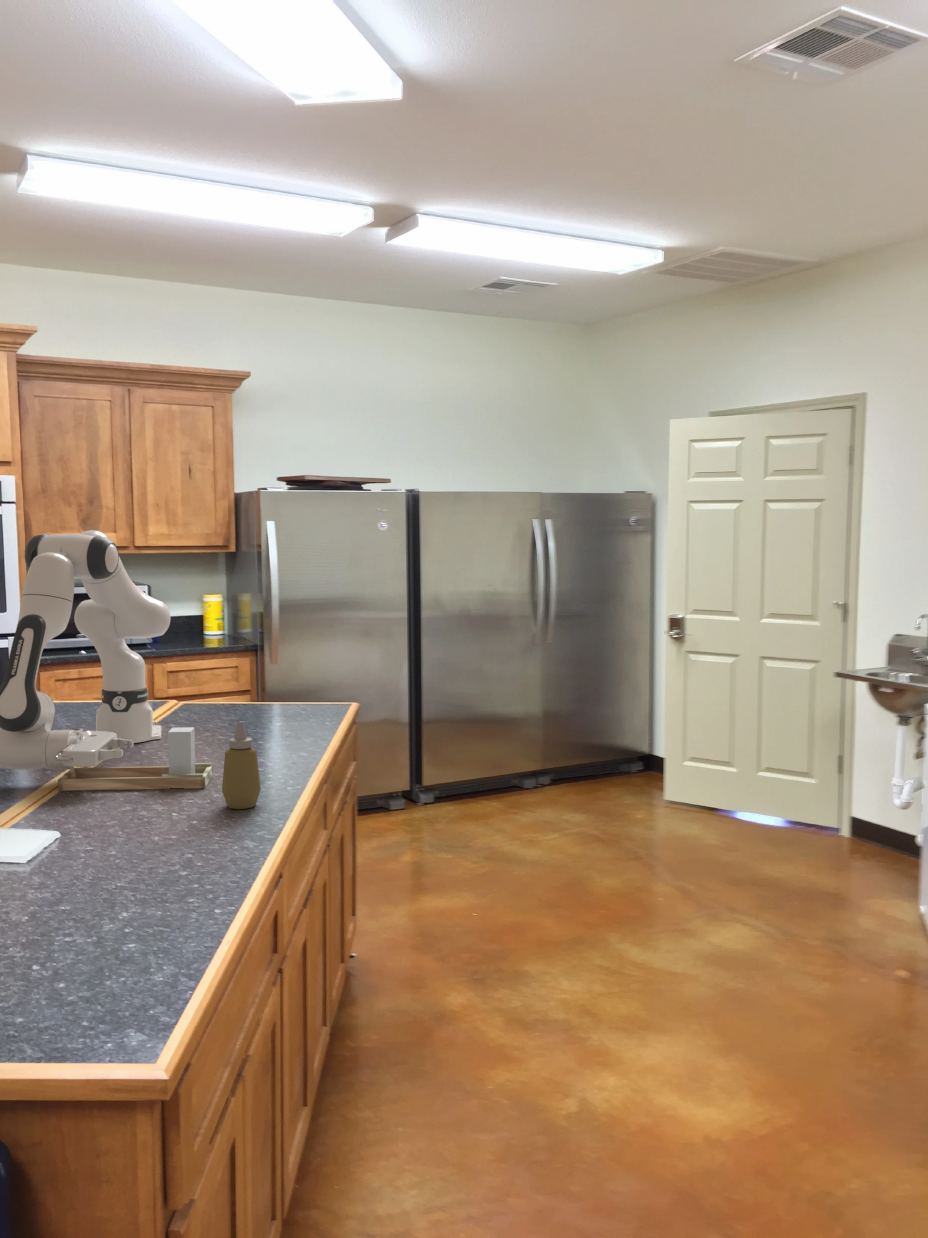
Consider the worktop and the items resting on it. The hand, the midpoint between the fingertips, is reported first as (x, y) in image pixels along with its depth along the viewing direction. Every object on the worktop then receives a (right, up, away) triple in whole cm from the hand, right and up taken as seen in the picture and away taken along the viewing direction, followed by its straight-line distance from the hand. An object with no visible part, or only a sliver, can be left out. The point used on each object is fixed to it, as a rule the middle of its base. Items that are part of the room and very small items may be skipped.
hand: (127, 748), depth 227 cm
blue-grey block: (+12, -8, +2) cm, 14 cm away
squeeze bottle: (+30, -10, -17) cm, 36 cm away
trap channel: (+2, -8, +1) cm, 8 cm away
